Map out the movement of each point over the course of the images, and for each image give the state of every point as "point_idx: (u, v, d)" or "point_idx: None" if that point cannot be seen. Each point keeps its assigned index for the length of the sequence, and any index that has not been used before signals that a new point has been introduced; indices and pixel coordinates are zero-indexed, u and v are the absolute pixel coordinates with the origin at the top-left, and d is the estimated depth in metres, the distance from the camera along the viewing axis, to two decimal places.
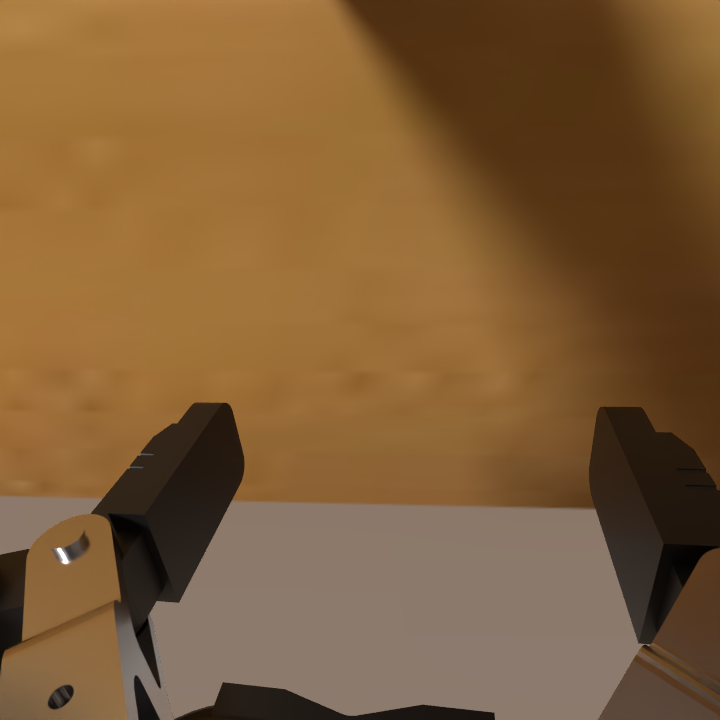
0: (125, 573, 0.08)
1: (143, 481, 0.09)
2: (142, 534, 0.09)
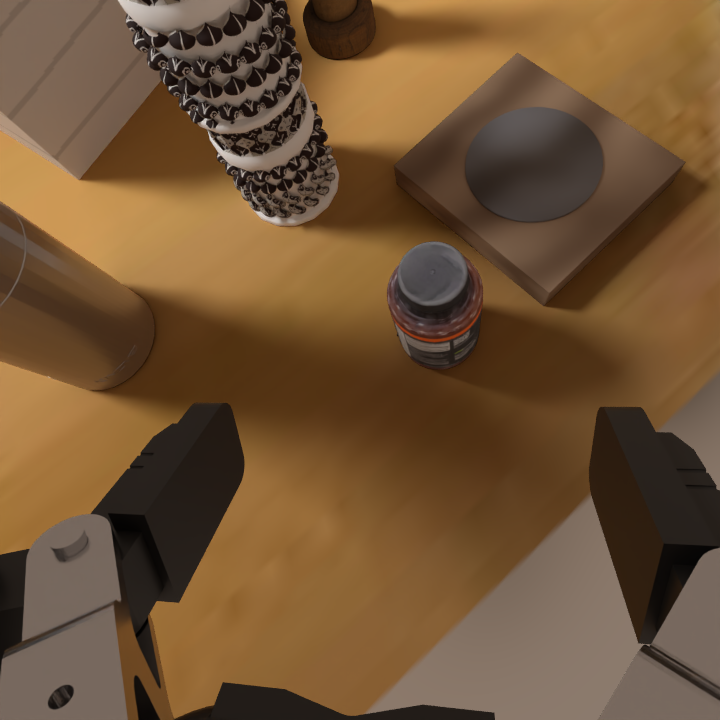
0: (125, 573, 0.08)
1: (143, 481, 0.09)
2: (142, 534, 0.09)
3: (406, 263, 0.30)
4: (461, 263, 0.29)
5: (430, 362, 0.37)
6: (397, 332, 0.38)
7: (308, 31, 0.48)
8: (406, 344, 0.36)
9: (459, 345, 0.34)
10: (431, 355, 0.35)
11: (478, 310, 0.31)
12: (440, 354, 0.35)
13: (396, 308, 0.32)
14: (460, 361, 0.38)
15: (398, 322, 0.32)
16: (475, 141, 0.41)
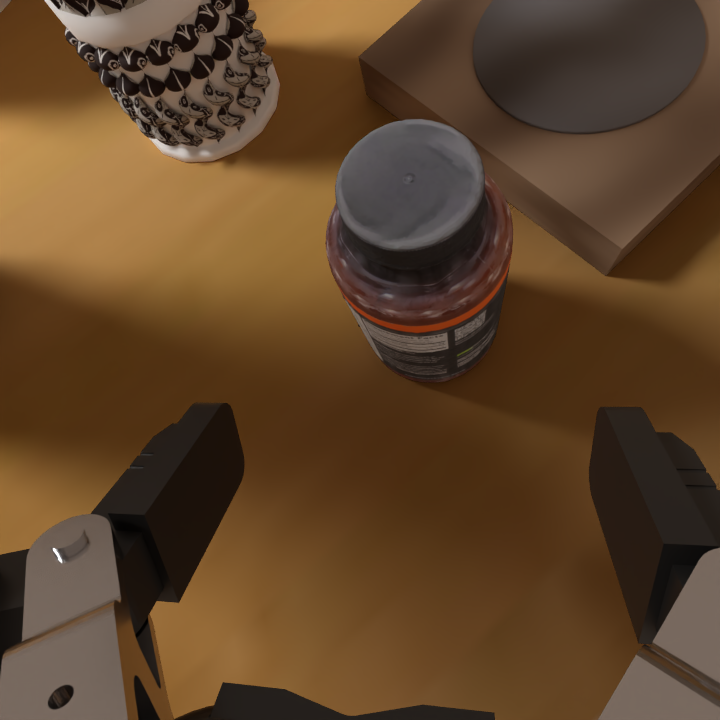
0: (125, 573, 0.08)
1: (143, 481, 0.09)
2: (142, 534, 0.09)
3: (354, 164, 0.14)
4: (470, 159, 0.14)
5: (415, 371, 0.21)
6: None
7: None
8: (371, 339, 0.20)
9: (466, 340, 0.18)
10: (416, 358, 0.20)
11: (504, 267, 0.16)
12: (431, 356, 0.19)
13: (341, 264, 0.16)
14: (467, 369, 0.22)
15: (346, 294, 0.16)
16: (489, 13, 0.25)
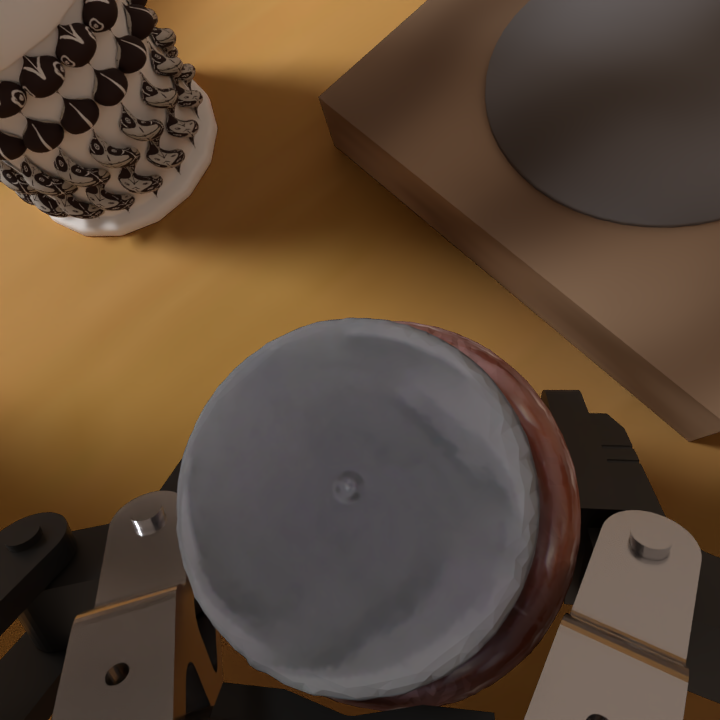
0: None
1: None
2: None
3: (221, 430, 0.06)
4: (503, 448, 0.05)
5: None
6: None
7: None
8: None
9: None
10: None
11: (564, 597, 0.07)
12: None
13: None
14: None
15: None
16: (509, 35, 0.17)
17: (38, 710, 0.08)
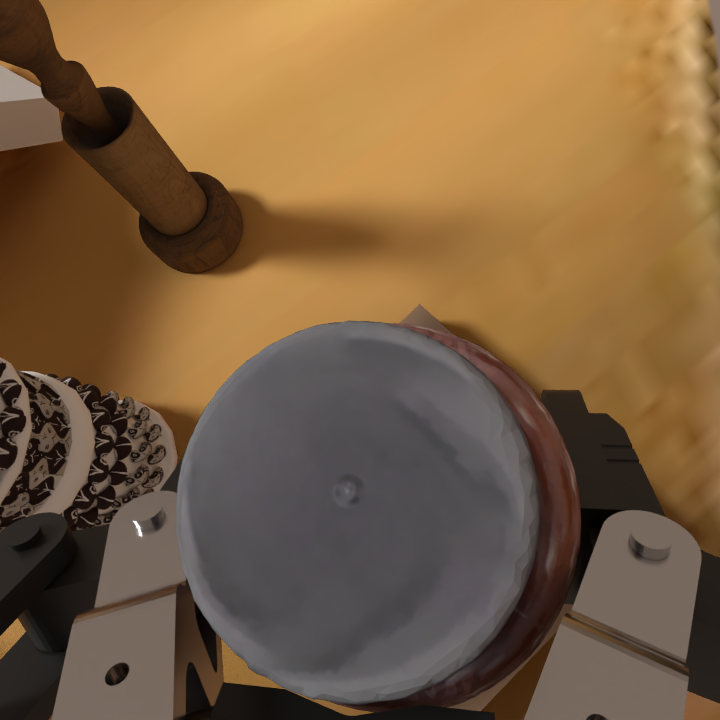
0: None
1: None
2: None
3: (221, 433, 0.06)
4: (503, 451, 0.05)
5: None
6: None
7: (144, 242, 0.35)
8: None
9: None
10: None
11: (564, 599, 0.07)
12: None
13: None
14: None
15: None
16: None
17: (37, 710, 0.08)
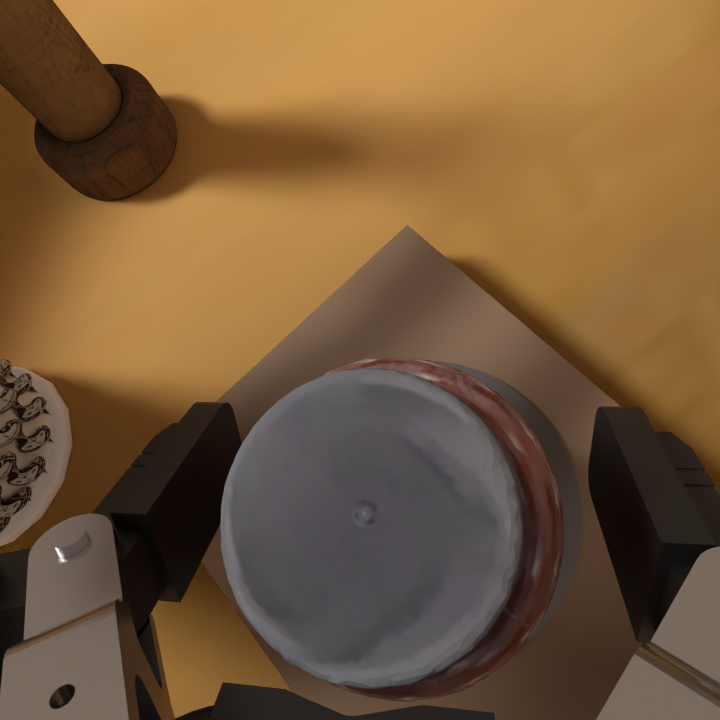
0: (126, 572, 0.08)
1: (144, 481, 0.09)
2: (143, 533, 0.09)
3: (258, 463, 0.07)
4: (493, 481, 0.06)
5: None
6: None
7: (40, 154, 0.26)
8: None
9: None
10: None
11: (549, 602, 0.09)
12: None
13: None
14: None
15: None
16: None
17: None
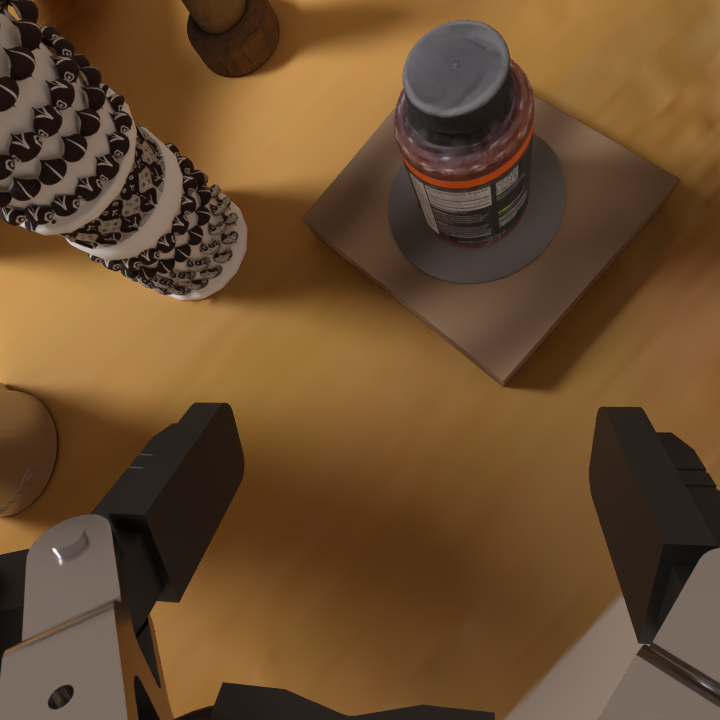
0: (125, 573, 0.08)
1: (143, 481, 0.09)
2: (142, 534, 0.09)
3: (414, 60, 0.20)
4: (498, 43, 0.19)
5: (466, 234, 0.27)
6: None
7: (194, 48, 0.39)
8: (430, 210, 0.26)
9: (504, 195, 0.24)
10: (466, 219, 0.26)
11: (529, 127, 0.21)
12: (479, 214, 0.25)
13: (408, 141, 0.22)
14: (507, 230, 0.28)
15: (413, 165, 0.22)
16: (399, 177, 0.32)
17: None
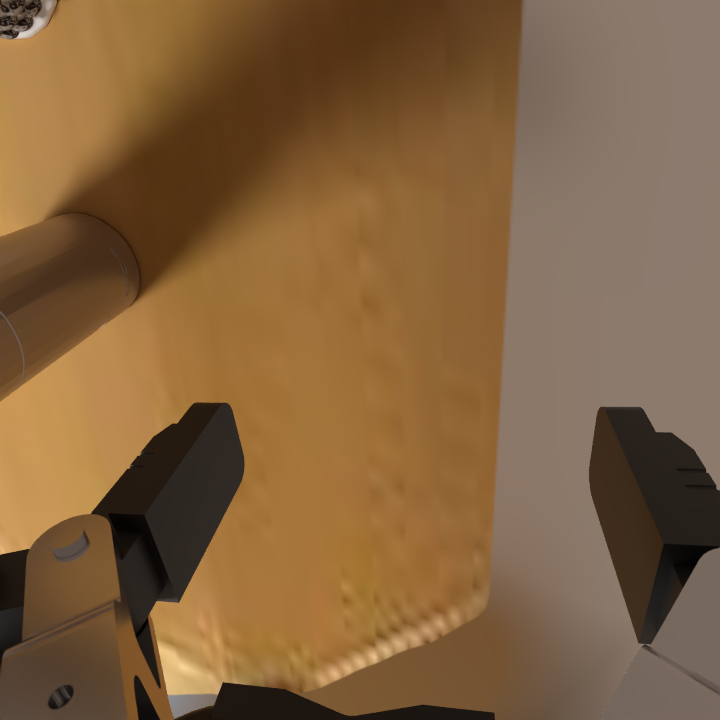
0: (125, 573, 0.08)
1: (143, 481, 0.09)
2: (142, 534, 0.09)
3: None
4: None
5: None
6: None
7: None
8: None
9: None
10: None
11: None
12: None
13: None
14: None
15: None
16: None
17: None
